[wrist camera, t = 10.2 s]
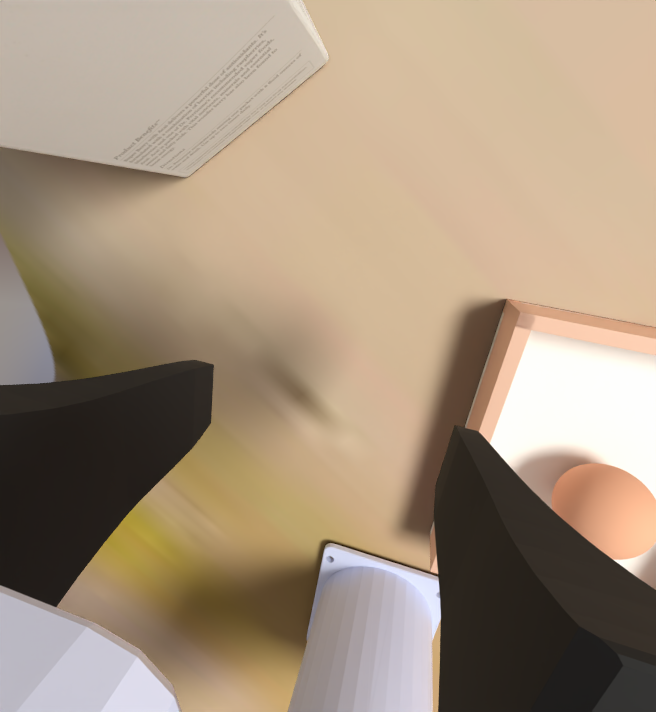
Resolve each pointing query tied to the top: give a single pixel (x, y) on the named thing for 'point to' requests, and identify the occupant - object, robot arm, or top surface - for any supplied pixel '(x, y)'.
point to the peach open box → (569, 401)
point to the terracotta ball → (607, 509)
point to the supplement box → (147, 76)
